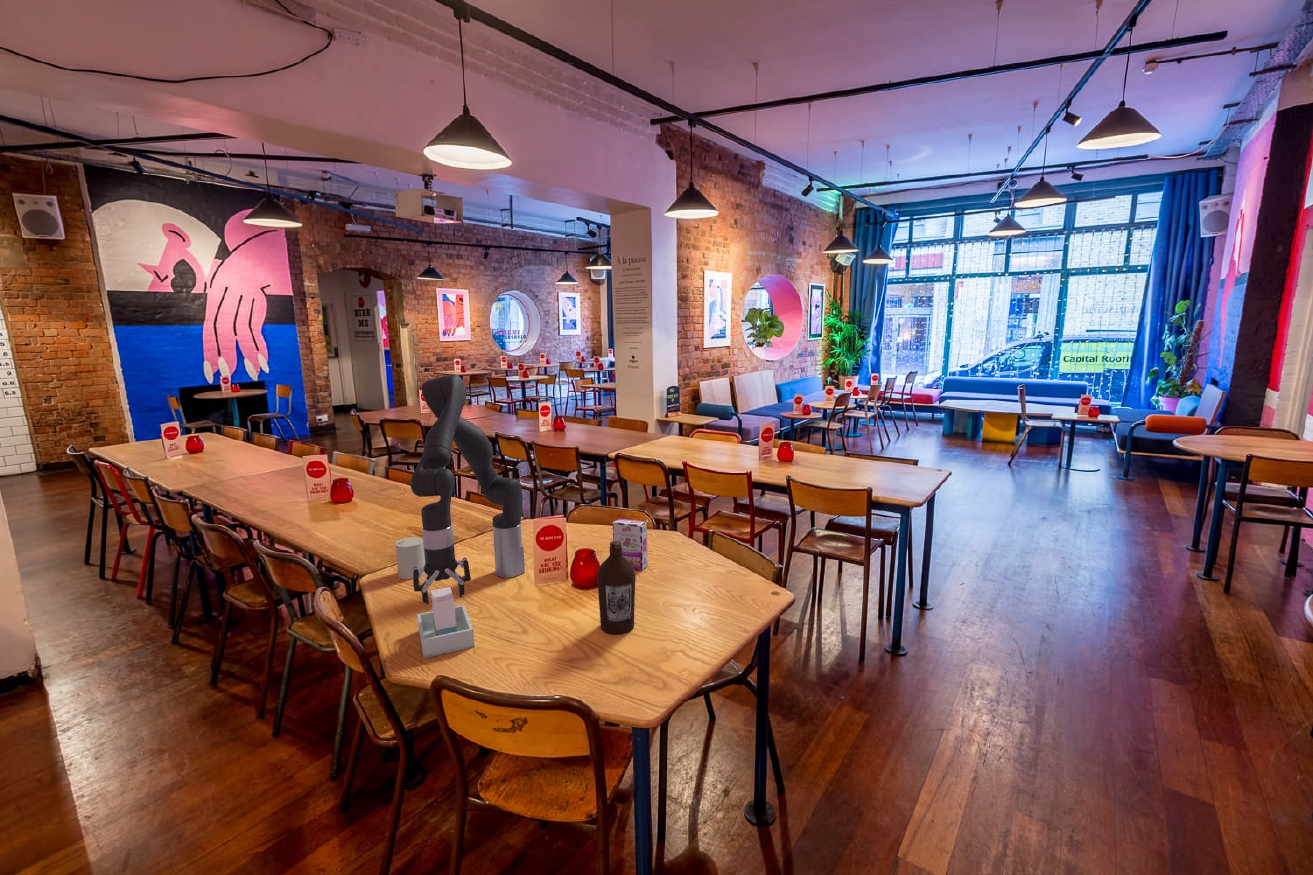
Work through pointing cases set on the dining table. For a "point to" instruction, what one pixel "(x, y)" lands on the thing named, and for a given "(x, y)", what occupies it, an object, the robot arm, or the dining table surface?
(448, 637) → the tray
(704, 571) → the dining table surface
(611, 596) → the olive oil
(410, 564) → the can
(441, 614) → the carton
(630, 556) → the candy bar box
